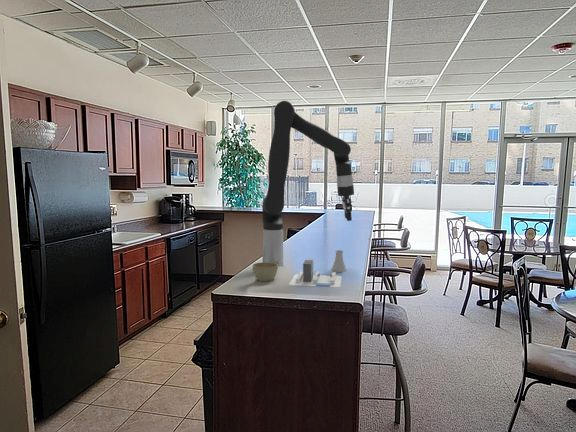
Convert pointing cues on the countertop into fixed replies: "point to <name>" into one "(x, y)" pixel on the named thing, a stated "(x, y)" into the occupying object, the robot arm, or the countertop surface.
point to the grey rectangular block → (308, 270)
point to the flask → (339, 262)
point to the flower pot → (265, 271)
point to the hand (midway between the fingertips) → (348, 219)
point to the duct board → (317, 280)
